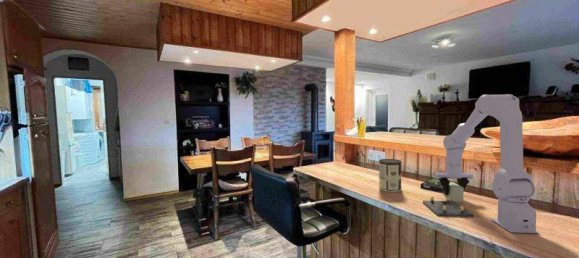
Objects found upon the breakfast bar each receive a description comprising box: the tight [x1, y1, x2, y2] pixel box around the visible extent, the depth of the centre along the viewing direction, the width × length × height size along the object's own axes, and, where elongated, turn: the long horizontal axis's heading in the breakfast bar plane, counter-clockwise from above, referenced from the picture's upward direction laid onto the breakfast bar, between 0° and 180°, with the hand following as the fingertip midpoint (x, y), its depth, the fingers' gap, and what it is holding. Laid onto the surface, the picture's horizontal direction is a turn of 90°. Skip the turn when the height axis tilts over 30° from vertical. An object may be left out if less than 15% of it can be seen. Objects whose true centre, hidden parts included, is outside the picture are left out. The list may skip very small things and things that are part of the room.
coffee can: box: [378, 158, 402, 193], centre depth 123 cm, size 10×10×14 cm
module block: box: [443, 181, 465, 203], centre depth 109 cm, size 4×8×6 cm, turn 174°
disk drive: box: [420, 178, 456, 194], centre depth 125 cm, size 10×3×15 cm
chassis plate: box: [422, 196, 474, 218], centre depth 97 cm, size 13×12×3 cm
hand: (453, 194), depth 109 cm, fingers open, 5 cm apart
